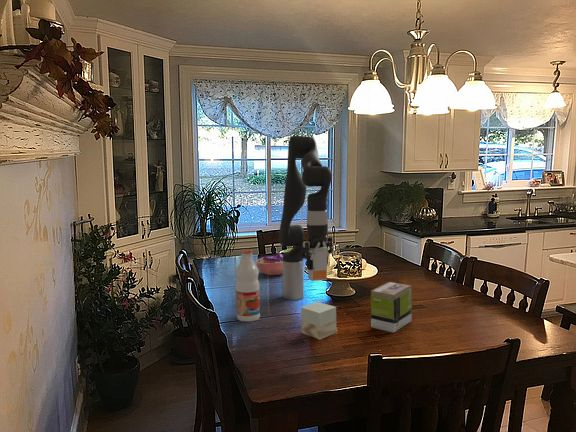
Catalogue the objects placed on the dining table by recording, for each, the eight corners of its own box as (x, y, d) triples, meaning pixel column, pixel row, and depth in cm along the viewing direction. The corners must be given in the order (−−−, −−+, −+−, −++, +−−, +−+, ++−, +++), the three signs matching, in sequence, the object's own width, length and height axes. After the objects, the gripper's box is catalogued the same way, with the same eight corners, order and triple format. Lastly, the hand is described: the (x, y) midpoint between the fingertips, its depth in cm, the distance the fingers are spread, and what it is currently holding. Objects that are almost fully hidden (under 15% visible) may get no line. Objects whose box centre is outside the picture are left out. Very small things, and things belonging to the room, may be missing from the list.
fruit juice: (245, 312, 201) (243, 246, 197) (264, 316, 197) (263, 248, 193) (232, 319, 193) (229, 251, 189) (251, 323, 189) (249, 253, 185)
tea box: (388, 316, 194) (389, 280, 192) (412, 321, 188) (412, 285, 186) (369, 327, 183) (370, 289, 181) (394, 333, 177) (394, 294, 175)
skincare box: (311, 281, 172) (311, 248, 171) (307, 278, 176) (307, 246, 175) (327, 280, 174) (327, 247, 172) (323, 277, 178) (323, 245, 176)
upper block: (301, 320, 178) (301, 307, 177) (318, 314, 184) (317, 301, 183) (319, 326, 171) (319, 313, 170) (336, 320, 177) (336, 307, 177)
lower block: (301, 333, 178) (301, 320, 178) (318, 327, 185) (318, 314, 184) (319, 340, 172) (319, 326, 171) (336, 333, 178) (336, 320, 177)
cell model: (251, 273, 266) (250, 253, 264) (284, 268, 274) (283, 249, 273) (262, 280, 251) (262, 259, 249) (297, 275, 259) (297, 255, 258)
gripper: (323, 219, 180) (323, 262, 182) (295, 223, 170) (296, 269, 172) (338, 221, 174) (338, 266, 177) (310, 226, 165) (311, 273, 167)
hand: (317, 267), depth 175 cm, fingers closed on skincare box, 7 cm apart
